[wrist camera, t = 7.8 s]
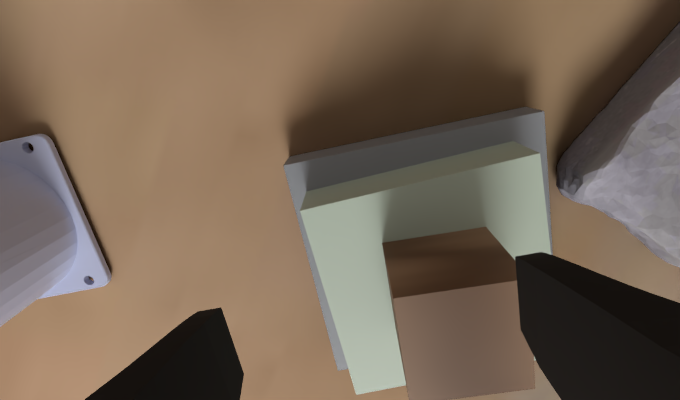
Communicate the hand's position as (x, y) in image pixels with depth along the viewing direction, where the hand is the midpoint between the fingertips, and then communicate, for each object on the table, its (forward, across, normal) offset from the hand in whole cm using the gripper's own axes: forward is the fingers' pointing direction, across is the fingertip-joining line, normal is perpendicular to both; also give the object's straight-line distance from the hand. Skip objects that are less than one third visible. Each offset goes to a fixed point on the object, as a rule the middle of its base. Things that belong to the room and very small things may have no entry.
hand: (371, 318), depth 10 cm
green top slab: (+8, -3, +3) cm, 9 cm away
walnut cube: (+6, -3, +3) cm, 7 cm away
